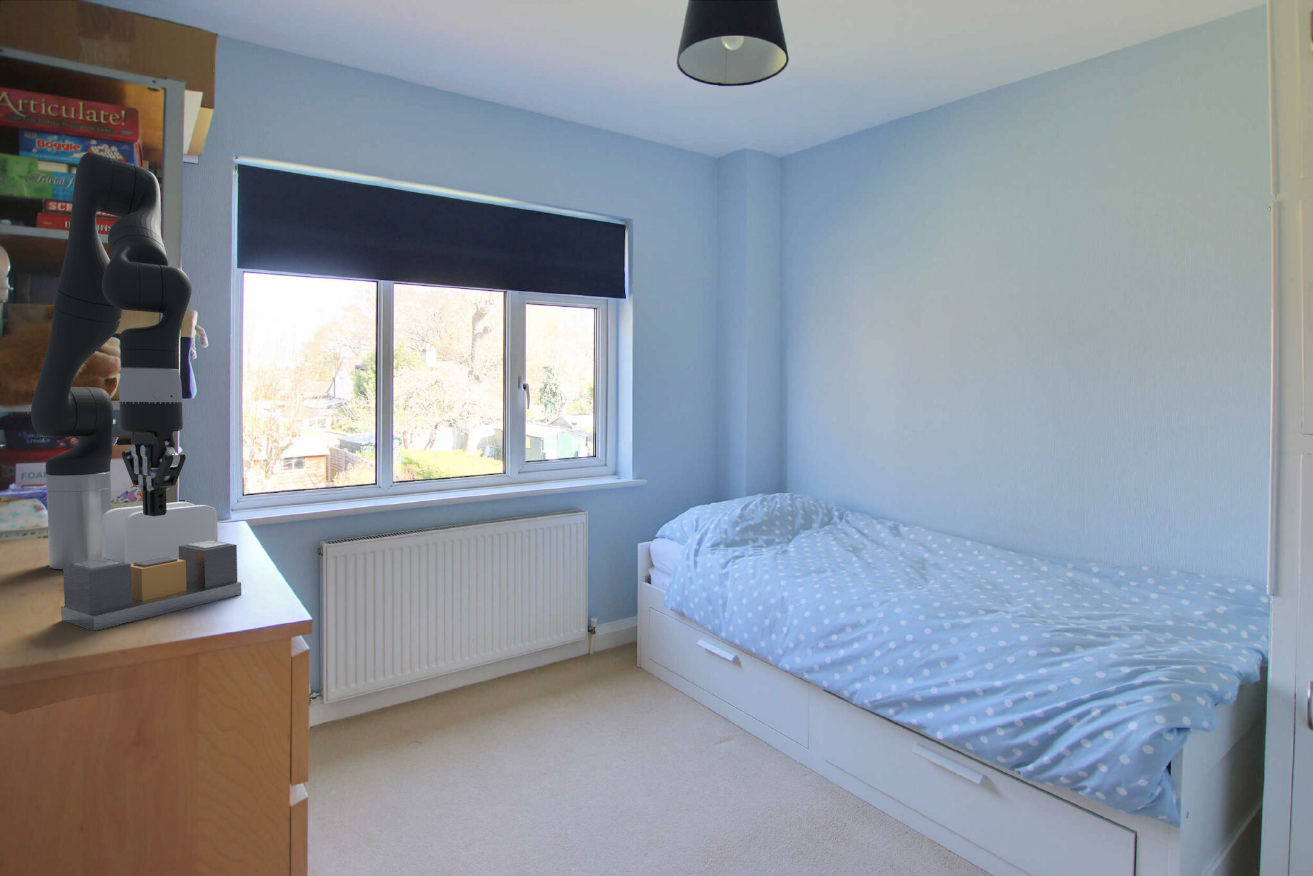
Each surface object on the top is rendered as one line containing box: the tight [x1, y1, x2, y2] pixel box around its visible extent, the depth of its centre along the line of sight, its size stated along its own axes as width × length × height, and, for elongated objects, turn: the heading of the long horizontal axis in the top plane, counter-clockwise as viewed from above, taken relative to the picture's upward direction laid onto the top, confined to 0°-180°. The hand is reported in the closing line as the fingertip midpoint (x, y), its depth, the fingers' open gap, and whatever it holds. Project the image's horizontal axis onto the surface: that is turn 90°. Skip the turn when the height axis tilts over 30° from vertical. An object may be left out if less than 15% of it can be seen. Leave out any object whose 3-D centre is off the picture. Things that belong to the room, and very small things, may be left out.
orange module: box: [131, 557, 186, 601], centre depth 103 cm, size 6×4×5 cm
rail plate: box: [60, 540, 242, 632], centre depth 103 cm, size 9×20×8 cm, turn 153°
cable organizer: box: [101, 501, 219, 564], centre depth 126 cm, size 15×11×12 cm
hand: (154, 514), depth 103 cm, fingers closed
